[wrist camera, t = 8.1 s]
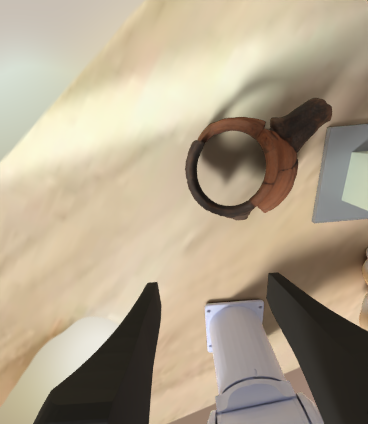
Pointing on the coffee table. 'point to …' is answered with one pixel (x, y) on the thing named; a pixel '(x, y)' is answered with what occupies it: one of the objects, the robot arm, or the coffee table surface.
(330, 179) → the plate
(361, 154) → the brick
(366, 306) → the kitten
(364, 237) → the coffee table surface
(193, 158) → the brown ring with handle
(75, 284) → the coffee table surface
